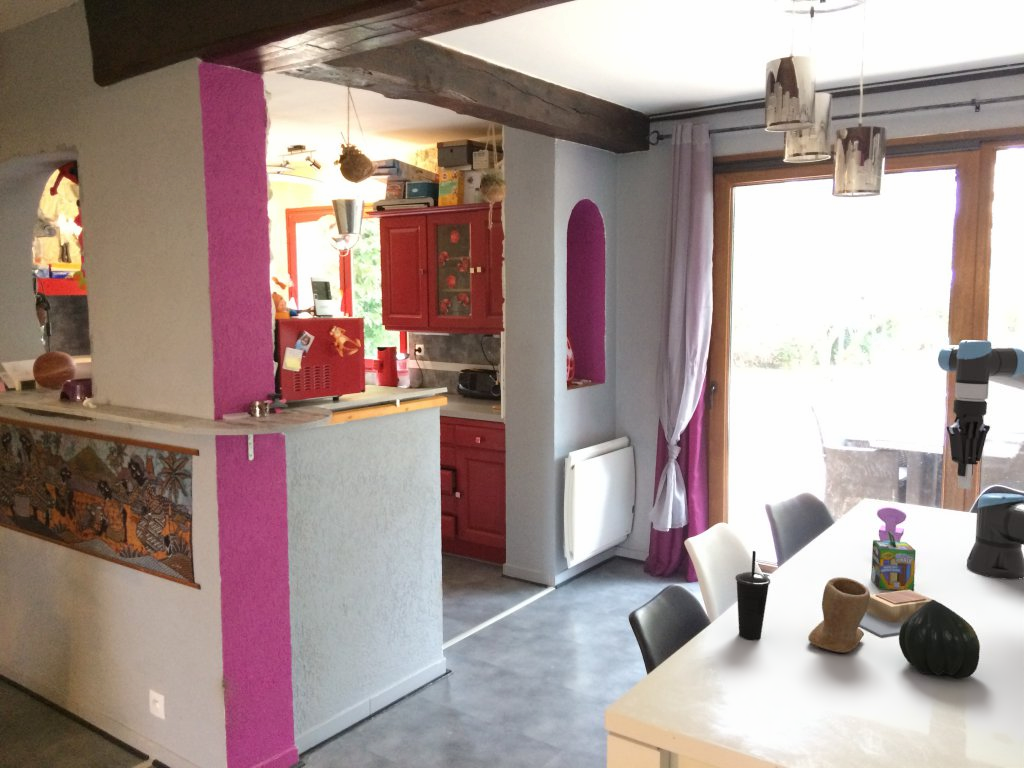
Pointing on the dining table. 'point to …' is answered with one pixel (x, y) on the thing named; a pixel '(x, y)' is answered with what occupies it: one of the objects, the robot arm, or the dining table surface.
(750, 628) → the drinking cup
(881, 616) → the oak slab
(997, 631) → the dining table surface
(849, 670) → the dining table surface
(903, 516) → the toy chair
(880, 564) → the chalk box
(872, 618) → the mat
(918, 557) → the dining table surface
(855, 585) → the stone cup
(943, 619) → the squash
